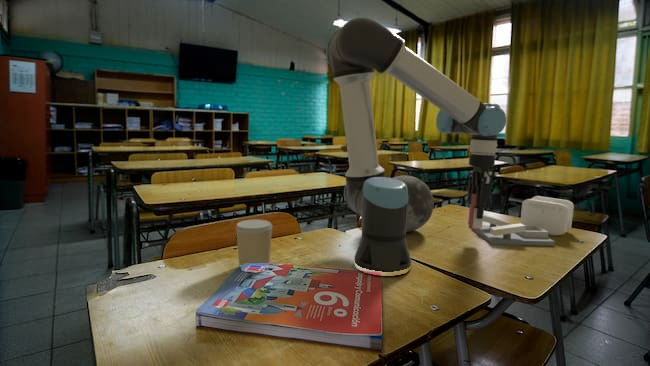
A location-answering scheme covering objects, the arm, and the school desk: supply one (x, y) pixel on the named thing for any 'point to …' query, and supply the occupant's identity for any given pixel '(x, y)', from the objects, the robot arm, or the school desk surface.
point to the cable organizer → (548, 214)
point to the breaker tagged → (507, 229)
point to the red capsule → (472, 212)
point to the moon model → (417, 202)
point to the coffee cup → (254, 241)
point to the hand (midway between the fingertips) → (474, 226)
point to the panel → (517, 236)
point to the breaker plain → (494, 220)
